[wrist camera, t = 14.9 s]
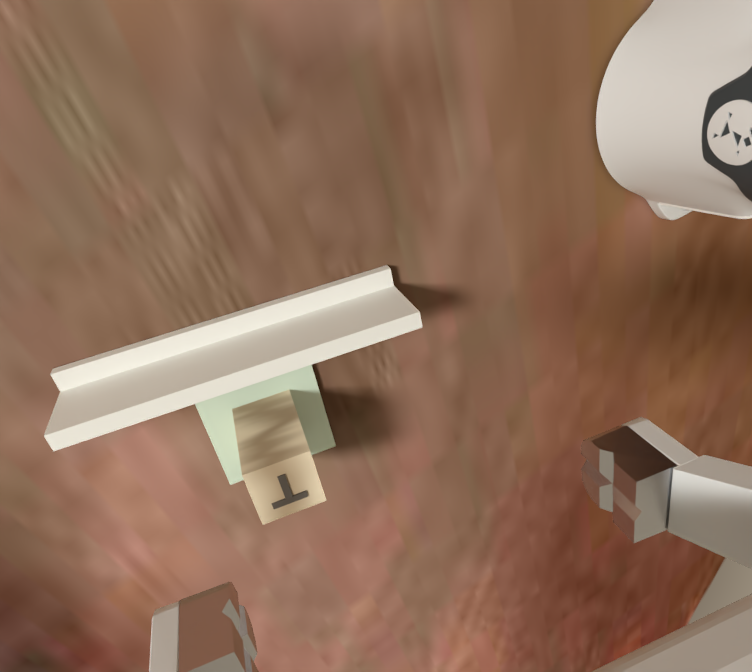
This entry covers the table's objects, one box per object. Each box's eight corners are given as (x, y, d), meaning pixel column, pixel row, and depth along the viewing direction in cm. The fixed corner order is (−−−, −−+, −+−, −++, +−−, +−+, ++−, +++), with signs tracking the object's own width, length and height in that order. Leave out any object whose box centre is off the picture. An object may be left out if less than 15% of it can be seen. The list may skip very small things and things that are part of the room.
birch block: (289, 389, 43) (310, 451, 36) (304, 434, 45) (326, 501, 38) (232, 409, 42) (242, 476, 35) (250, 454, 44) (263, 526, 37)
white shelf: (387, 264, 41) (416, 292, 36) (396, 312, 43) (425, 345, 38) (52, 368, 37) (32, 417, 32) (79, 415, 39) (64, 468, 34)
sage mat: (307, 353, 42) (308, 355, 42) (334, 443, 47) (335, 446, 46) (190, 392, 41) (190, 395, 40) (229, 481, 45) (230, 484, 45)
